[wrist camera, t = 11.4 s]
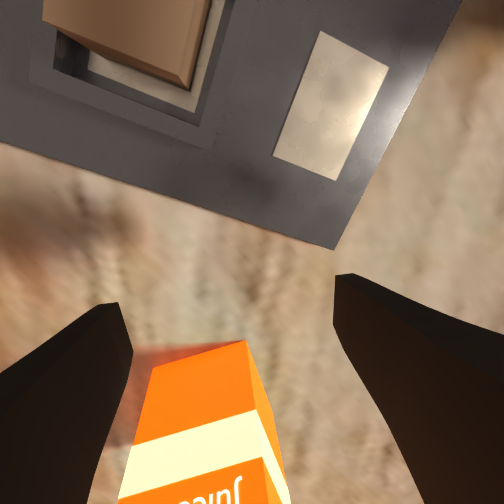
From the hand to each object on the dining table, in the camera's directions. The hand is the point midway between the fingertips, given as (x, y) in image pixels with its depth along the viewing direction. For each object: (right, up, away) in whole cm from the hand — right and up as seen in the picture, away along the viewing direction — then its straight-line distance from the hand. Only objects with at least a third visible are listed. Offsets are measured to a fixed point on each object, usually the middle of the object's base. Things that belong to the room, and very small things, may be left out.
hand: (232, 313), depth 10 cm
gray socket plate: (-2, +12, +5) cm, 13 cm away
